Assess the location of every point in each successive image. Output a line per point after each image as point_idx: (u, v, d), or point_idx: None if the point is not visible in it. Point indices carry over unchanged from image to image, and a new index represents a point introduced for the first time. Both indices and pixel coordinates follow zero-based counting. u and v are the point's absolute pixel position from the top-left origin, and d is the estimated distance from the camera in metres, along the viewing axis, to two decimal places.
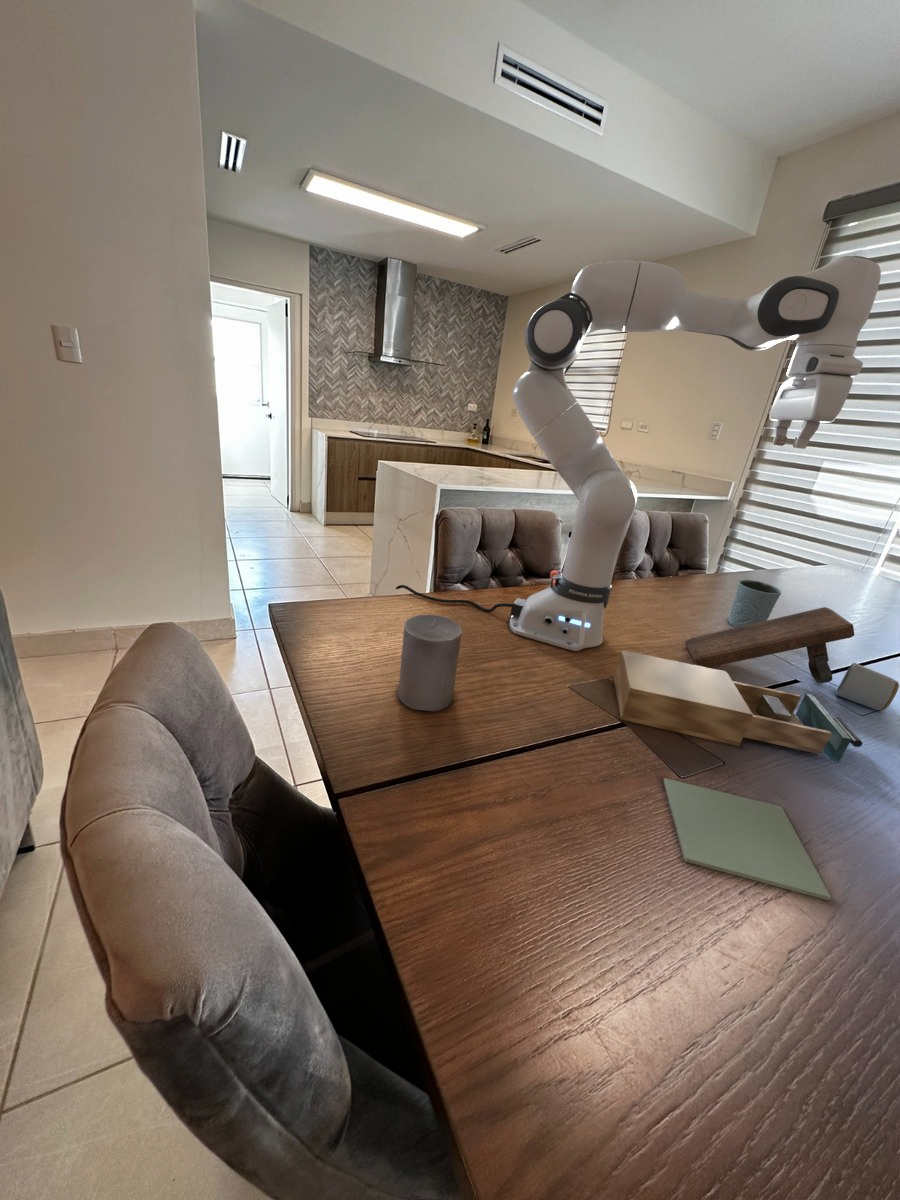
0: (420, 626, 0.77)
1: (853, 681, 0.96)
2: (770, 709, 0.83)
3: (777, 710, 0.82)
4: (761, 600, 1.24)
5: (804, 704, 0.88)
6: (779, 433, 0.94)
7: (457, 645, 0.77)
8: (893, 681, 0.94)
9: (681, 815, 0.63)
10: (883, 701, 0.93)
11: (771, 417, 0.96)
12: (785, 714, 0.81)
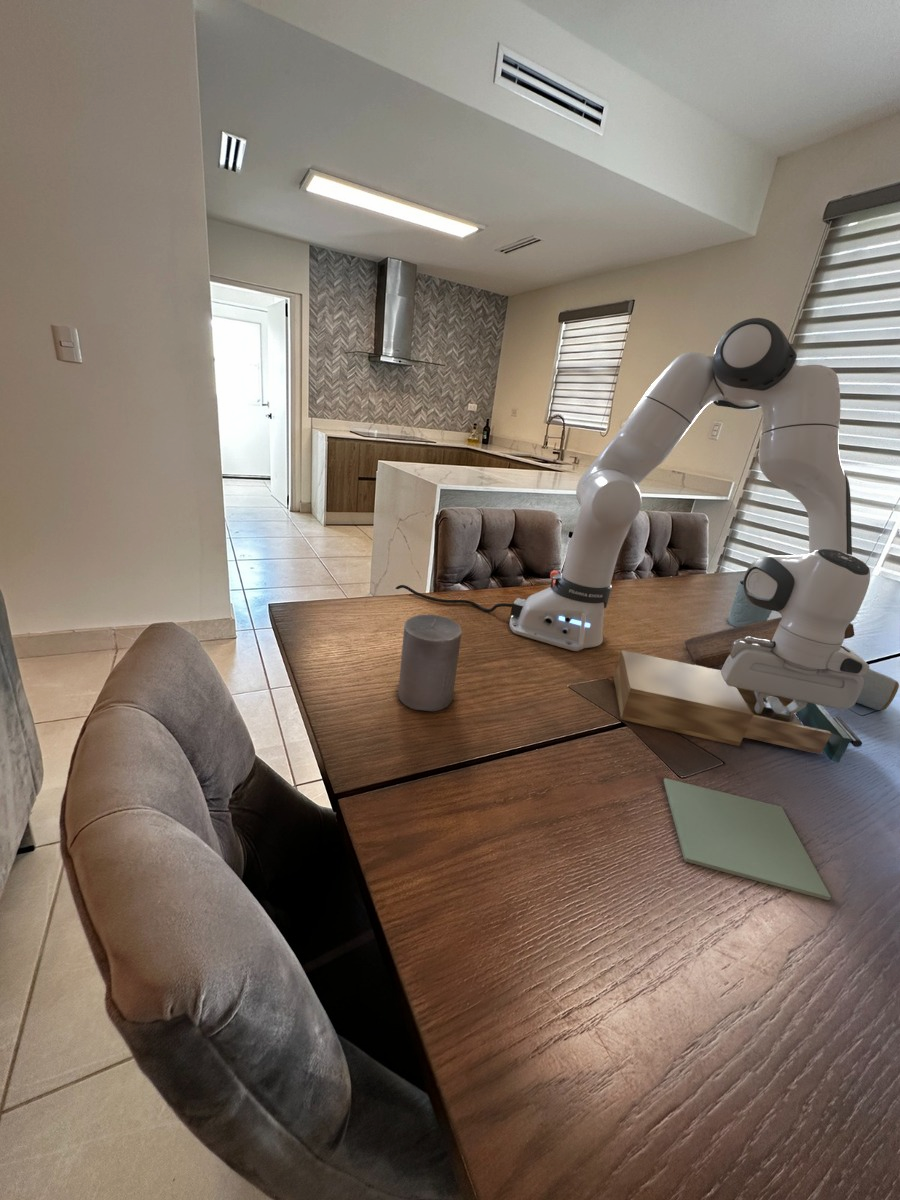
0: (420, 626, 0.77)
1: None
2: (769, 709, 0.83)
3: (777, 710, 0.82)
4: None
5: None
6: None
7: (457, 645, 0.77)
8: (893, 681, 0.94)
9: (681, 815, 0.63)
10: (883, 701, 0.93)
11: (737, 686, 0.82)
12: (785, 714, 0.81)
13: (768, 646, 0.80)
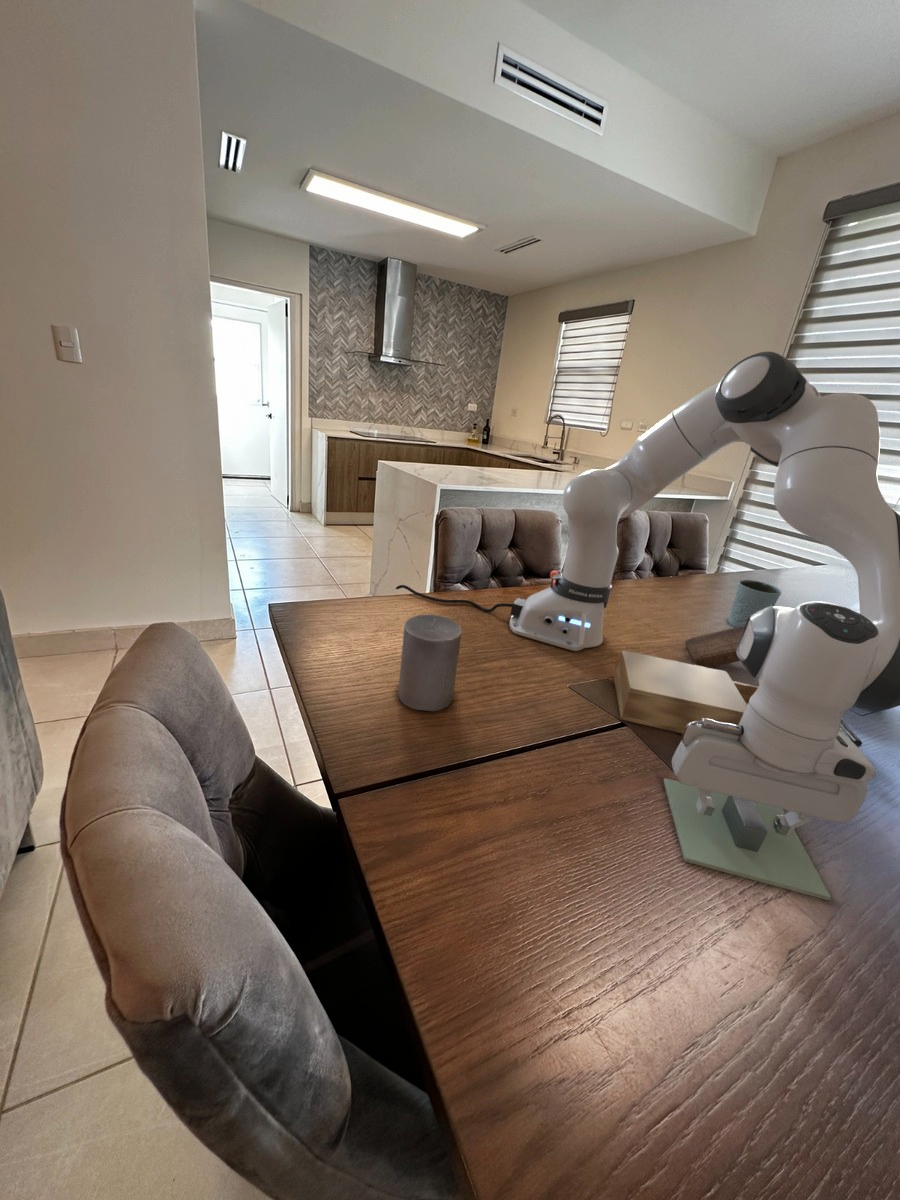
0: (420, 626, 0.77)
1: None
2: (738, 818, 0.60)
3: (748, 820, 0.59)
4: (761, 600, 1.24)
5: None
6: (706, 799, 0.61)
7: (457, 645, 0.77)
8: None
9: (681, 815, 0.63)
10: None
11: (691, 784, 0.59)
12: (759, 829, 0.58)
13: (733, 733, 0.57)
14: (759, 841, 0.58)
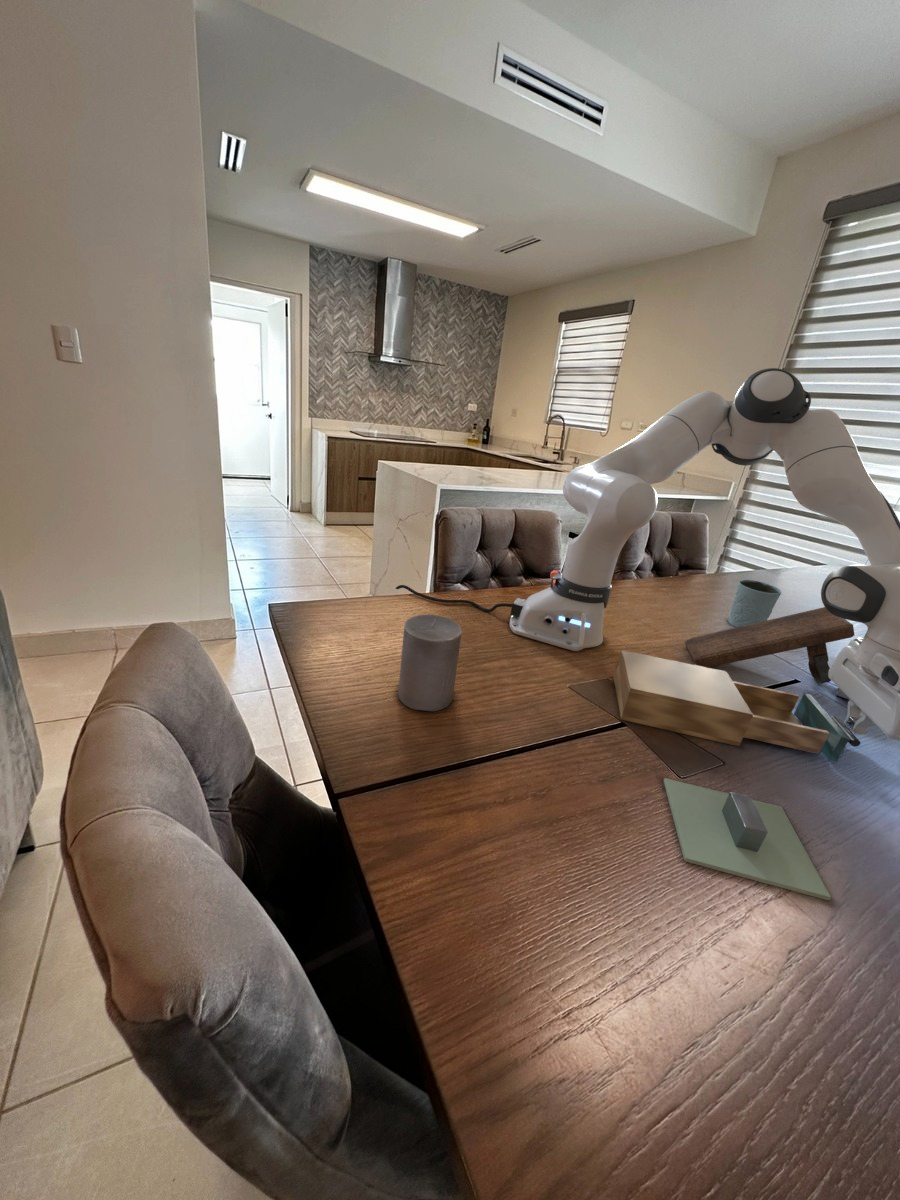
0: (420, 626, 0.77)
1: None
2: (738, 818, 0.60)
3: (748, 820, 0.59)
4: (761, 600, 1.24)
5: (802, 704, 0.88)
6: (854, 714, 0.82)
7: (457, 645, 0.77)
8: None
9: (681, 815, 0.63)
10: None
11: (831, 678, 0.87)
12: (759, 829, 0.58)
13: None
14: (759, 841, 0.58)
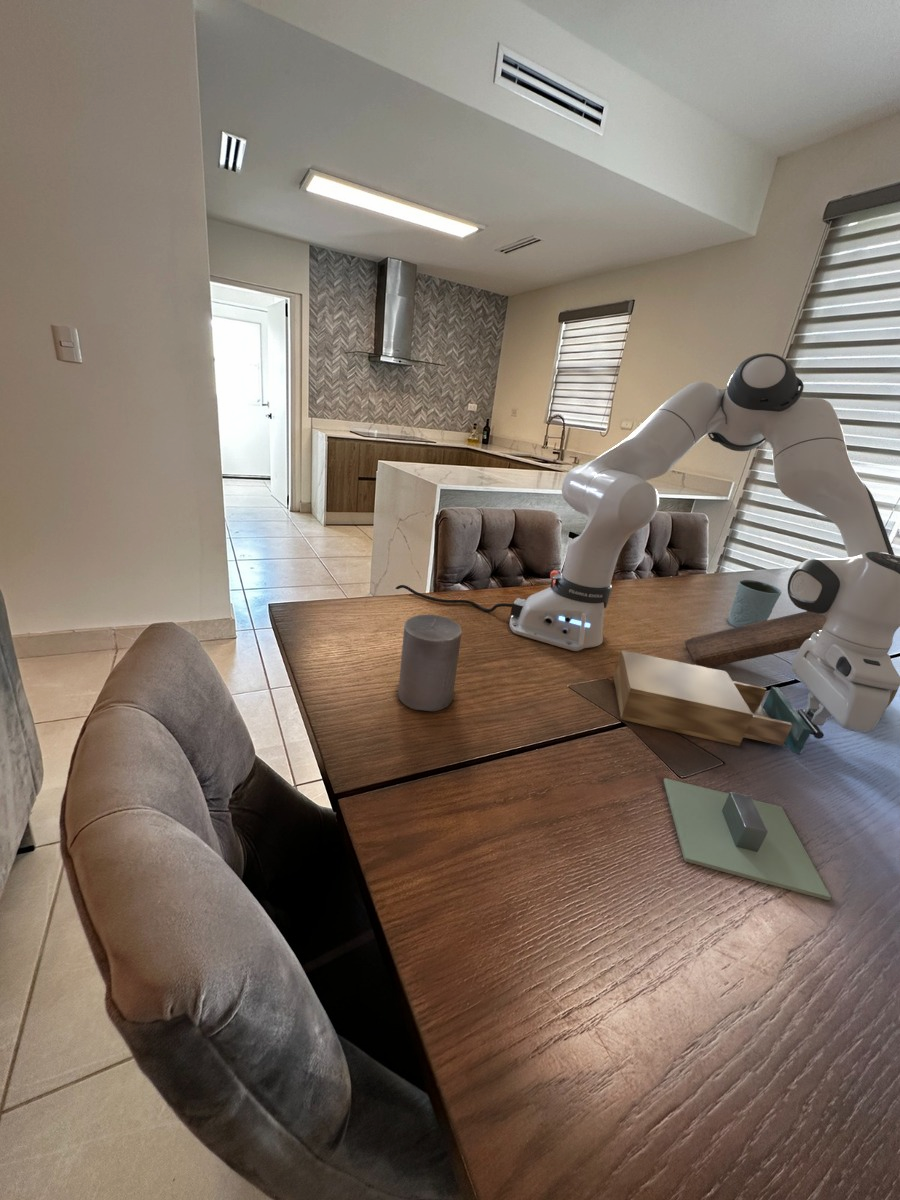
0: (420, 626, 0.77)
1: None
2: (738, 818, 0.60)
3: (748, 820, 0.59)
4: (761, 600, 1.24)
5: (770, 697, 0.89)
6: (813, 705, 0.83)
7: (457, 645, 0.77)
8: None
9: (681, 815, 0.63)
10: None
11: (794, 671, 0.88)
12: (759, 829, 0.58)
13: None
14: (759, 841, 0.58)
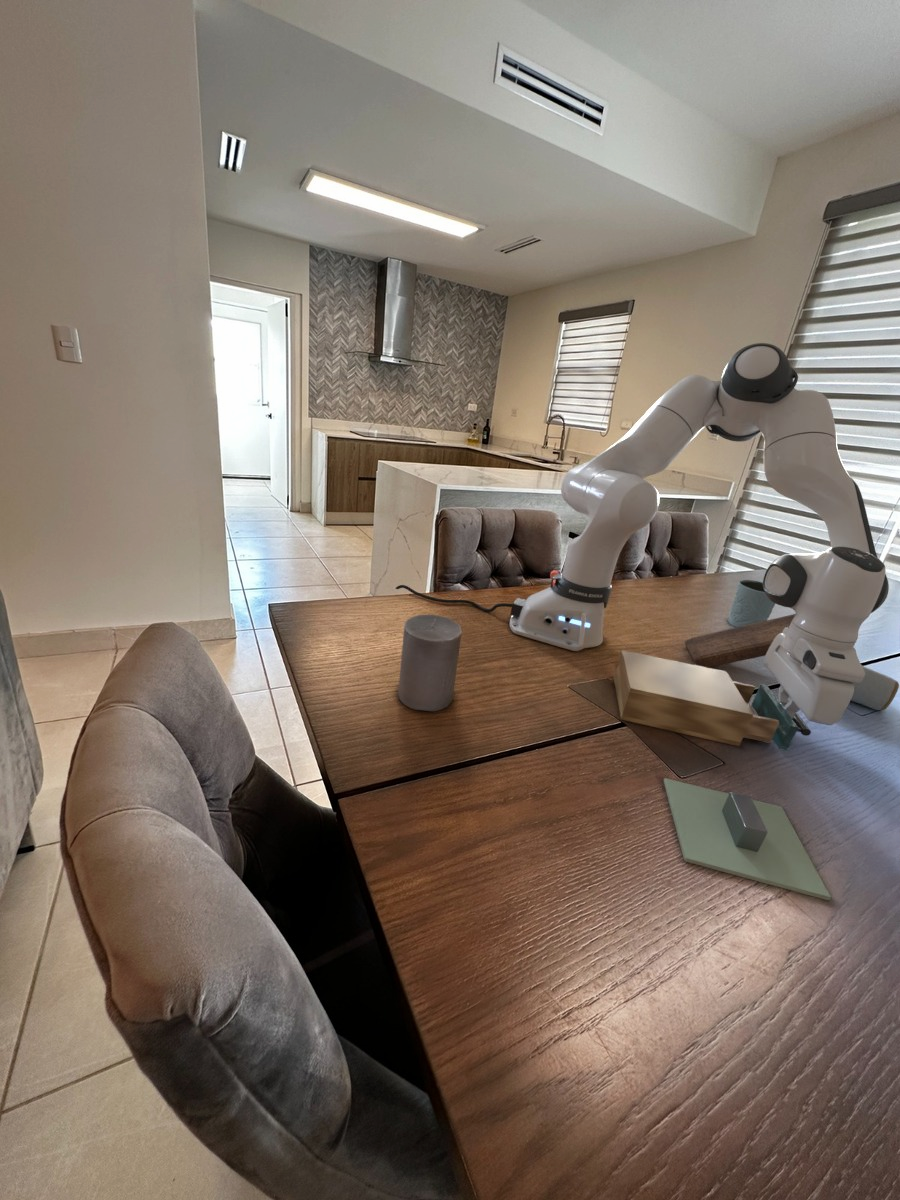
0: (420, 626, 0.77)
1: None
2: (738, 818, 0.60)
3: (748, 820, 0.59)
4: (761, 600, 1.24)
5: (759, 695, 0.89)
6: (784, 699, 0.84)
7: (457, 645, 0.77)
8: (893, 681, 0.94)
9: (681, 815, 0.63)
10: (883, 701, 0.93)
11: (766, 665, 0.89)
12: (759, 829, 0.58)
13: None
14: (759, 841, 0.58)
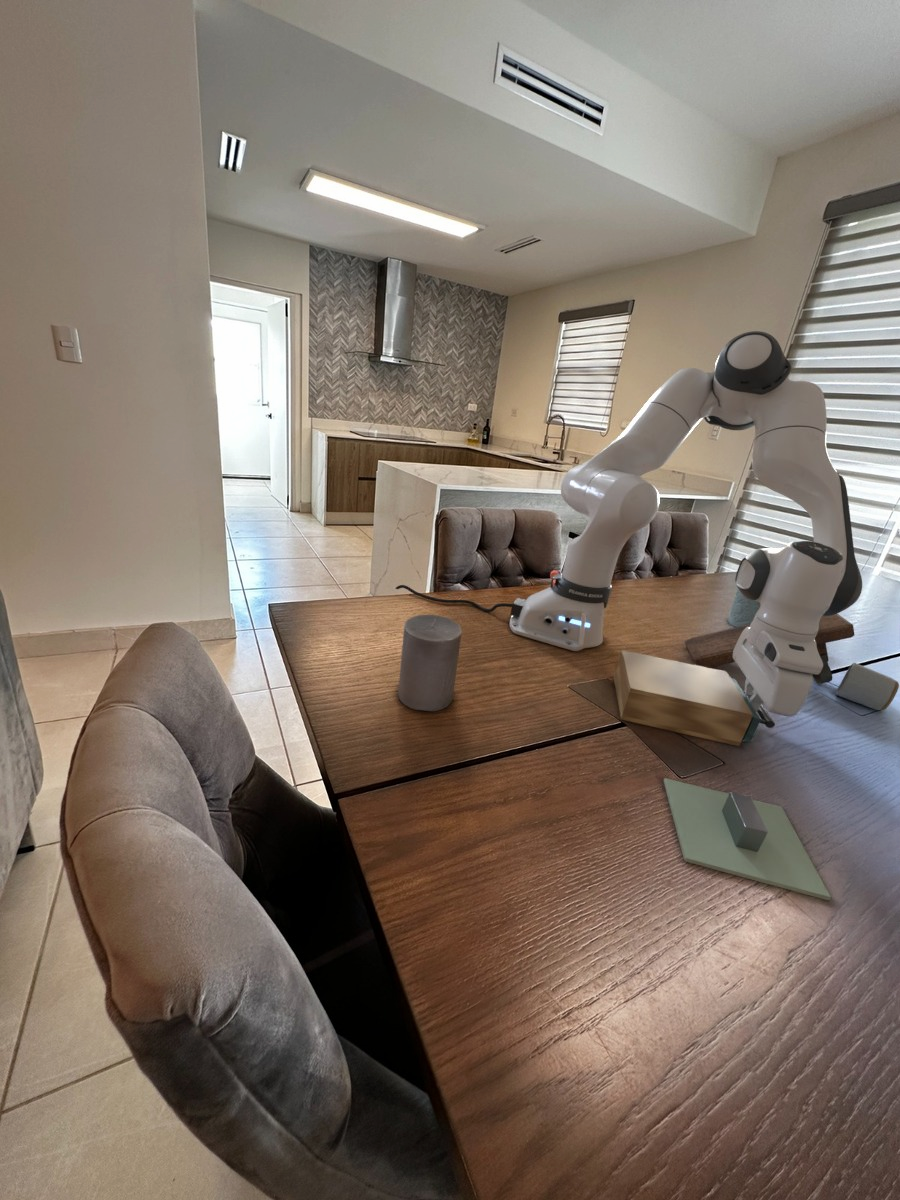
0: (420, 626, 0.77)
1: (853, 681, 0.96)
2: (738, 818, 0.60)
3: (748, 820, 0.59)
4: None
5: None
6: (750, 692, 0.85)
7: (457, 645, 0.77)
8: (893, 681, 0.94)
9: (681, 815, 0.63)
10: (883, 701, 0.93)
11: (734, 659, 0.90)
12: (759, 829, 0.58)
13: None
14: (759, 841, 0.58)
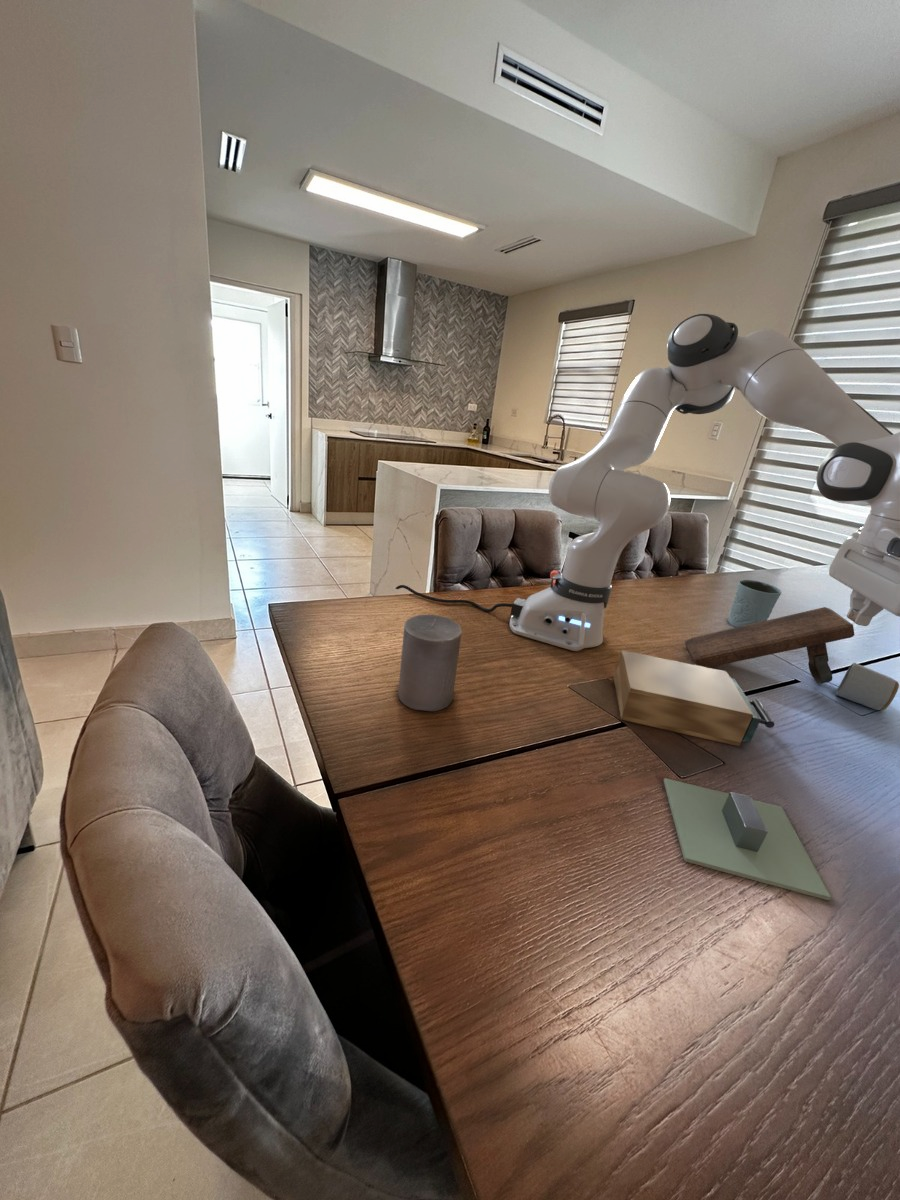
0: (420, 626, 0.77)
1: (853, 681, 0.96)
2: (738, 818, 0.60)
3: (748, 820, 0.59)
4: (761, 600, 1.24)
5: None
6: (857, 606, 0.76)
7: (457, 645, 0.77)
8: (893, 681, 0.94)
9: (681, 815, 0.63)
10: (883, 701, 0.93)
11: (832, 575, 0.81)
12: (759, 829, 0.58)
13: None
14: (759, 841, 0.58)
